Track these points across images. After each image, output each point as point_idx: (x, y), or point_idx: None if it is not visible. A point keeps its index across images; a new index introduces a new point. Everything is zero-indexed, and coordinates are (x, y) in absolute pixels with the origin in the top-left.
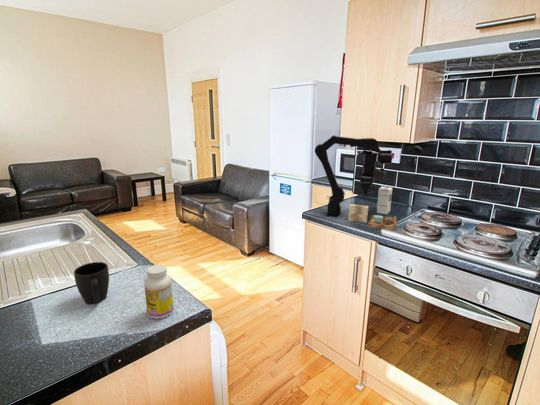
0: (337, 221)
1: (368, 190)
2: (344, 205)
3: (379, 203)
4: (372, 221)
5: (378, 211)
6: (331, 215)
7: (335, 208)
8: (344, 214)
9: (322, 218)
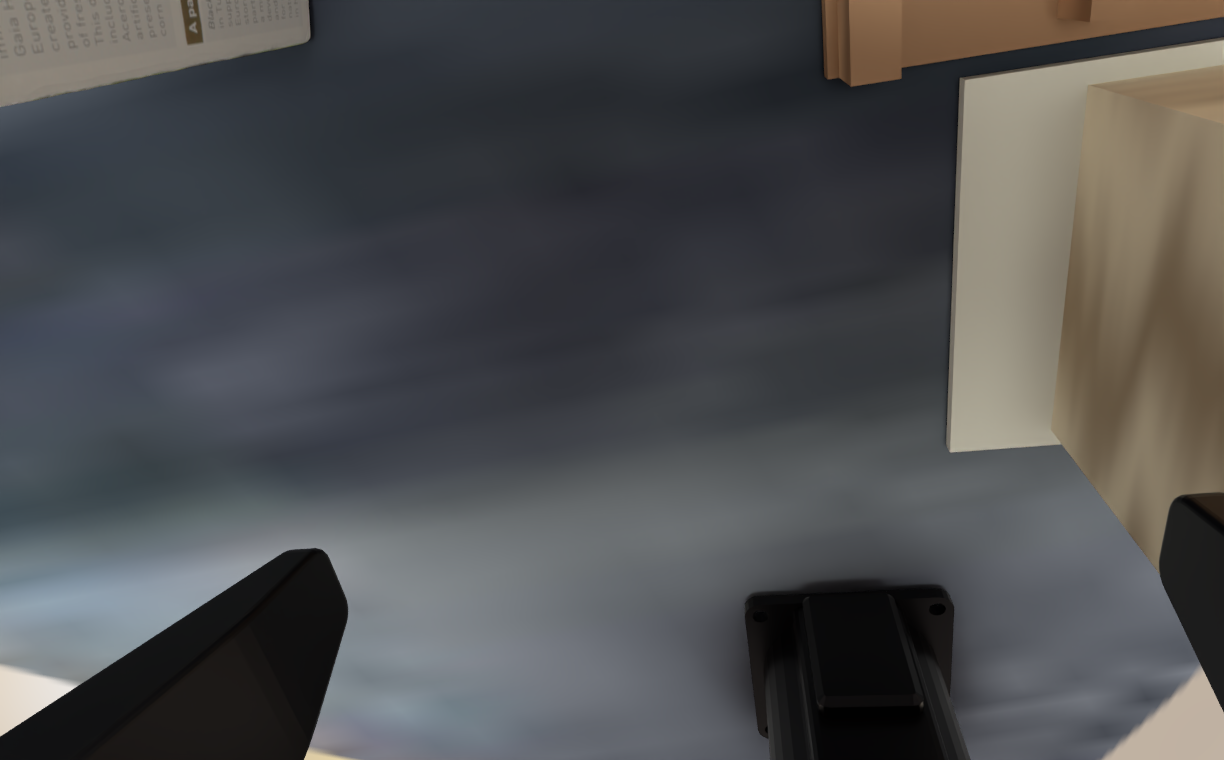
0: None
1: (306, 573)
2: None
3: (156, 9)
4: None
5: (288, 5)
6: (950, 677)
7: (964, 746)
8: (743, 539)
9: (1108, 734)
